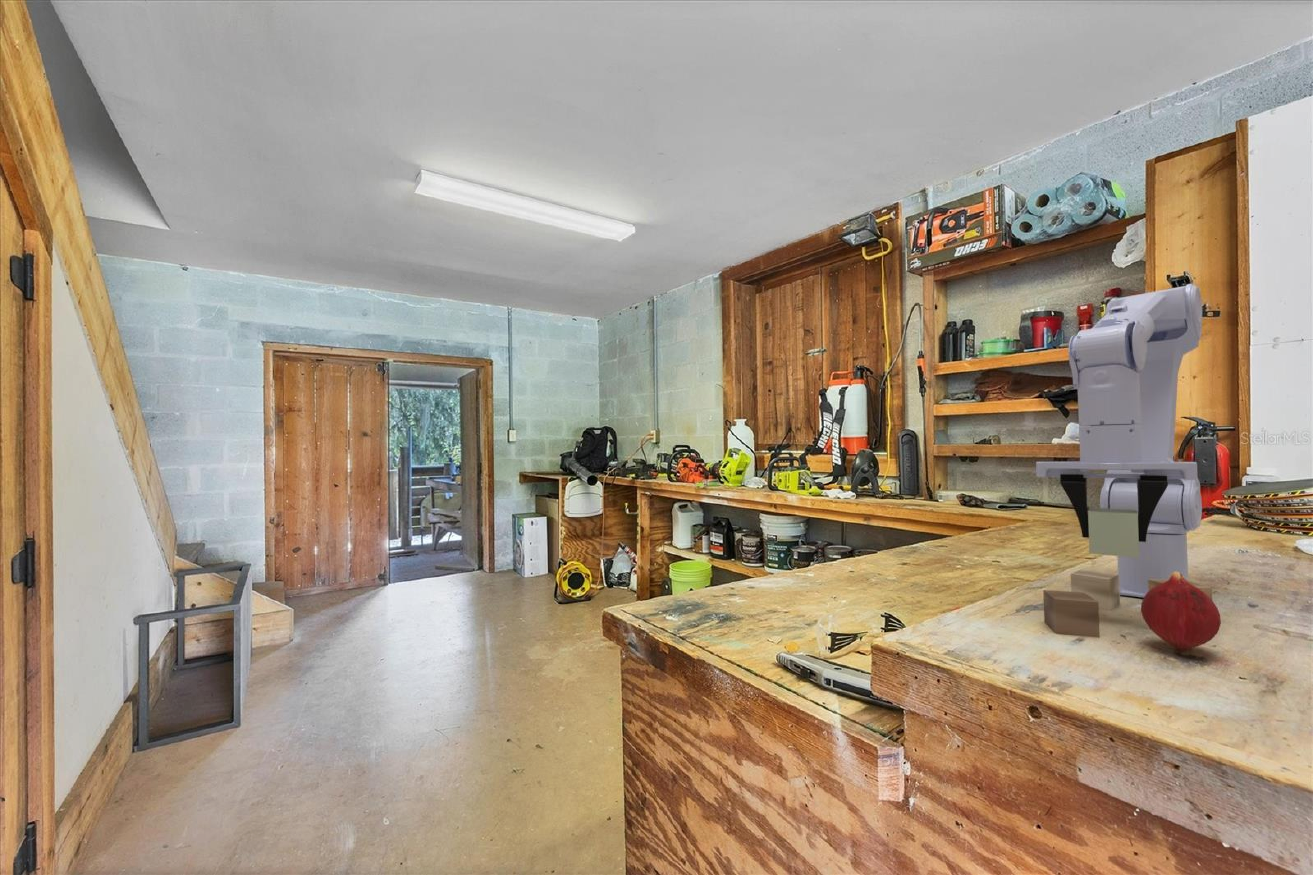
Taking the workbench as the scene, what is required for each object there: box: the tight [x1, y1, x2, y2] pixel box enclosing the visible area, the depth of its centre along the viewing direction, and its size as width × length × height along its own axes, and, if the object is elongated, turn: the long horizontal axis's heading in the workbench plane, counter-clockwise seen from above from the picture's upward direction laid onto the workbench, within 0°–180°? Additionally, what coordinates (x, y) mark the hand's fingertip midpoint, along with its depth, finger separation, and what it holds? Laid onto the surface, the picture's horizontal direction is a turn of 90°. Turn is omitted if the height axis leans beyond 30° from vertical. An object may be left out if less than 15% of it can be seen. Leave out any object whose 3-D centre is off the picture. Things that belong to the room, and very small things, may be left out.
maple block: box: [1070, 568, 1121, 611], centre depth 71 cm, size 4×4×4 cm
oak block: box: [1148, 579, 1213, 601], centre depth 65 cm, size 4×4×4 cm
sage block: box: [1087, 507, 1139, 558], centre depth 64 cm, size 4×4×5 cm
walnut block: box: [1042, 589, 1101, 639], centre depth 61 cm, size 4×4×4 cm
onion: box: [1140, 571, 1222, 652], centre depth 55 cm, size 6×6×8 cm
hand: (1113, 538), depth 64 cm, fingers closed on sage block, 4 cm apart
